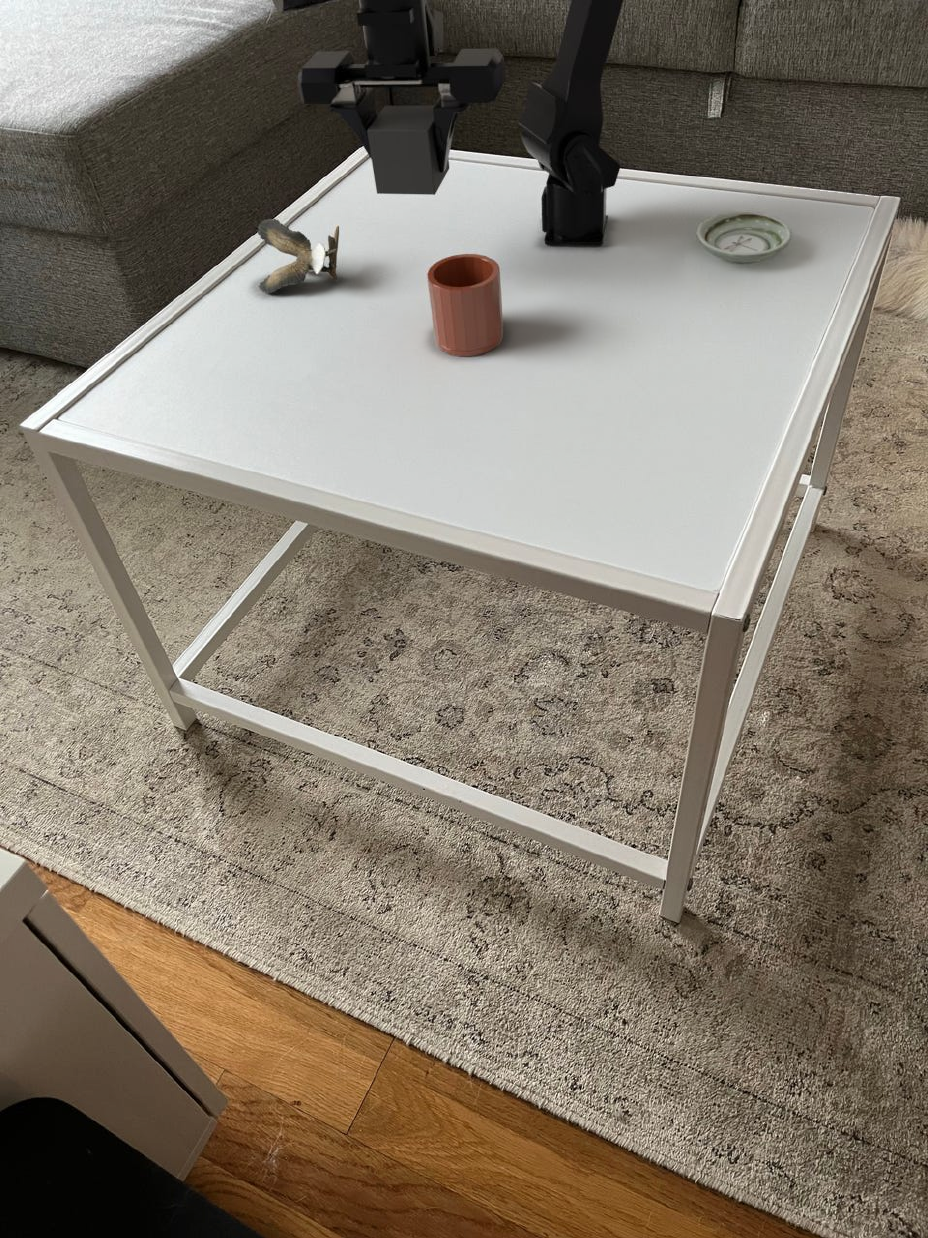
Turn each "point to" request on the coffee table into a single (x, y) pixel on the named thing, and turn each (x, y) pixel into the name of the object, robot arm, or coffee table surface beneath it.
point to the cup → (466, 304)
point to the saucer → (743, 236)
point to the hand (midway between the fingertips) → (412, 170)
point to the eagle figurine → (301, 249)
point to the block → (405, 151)
